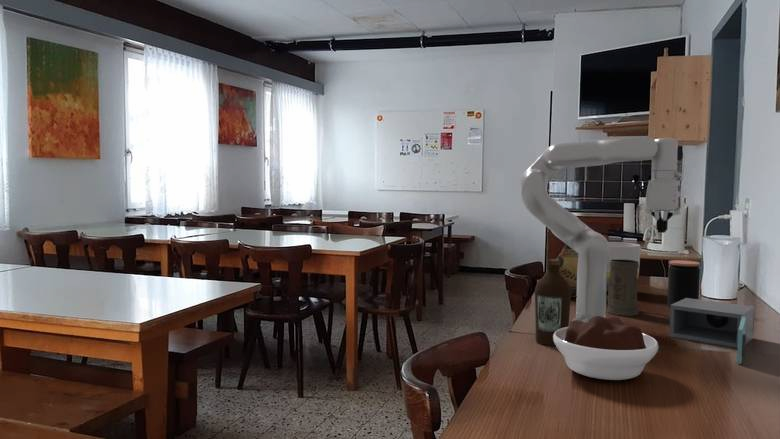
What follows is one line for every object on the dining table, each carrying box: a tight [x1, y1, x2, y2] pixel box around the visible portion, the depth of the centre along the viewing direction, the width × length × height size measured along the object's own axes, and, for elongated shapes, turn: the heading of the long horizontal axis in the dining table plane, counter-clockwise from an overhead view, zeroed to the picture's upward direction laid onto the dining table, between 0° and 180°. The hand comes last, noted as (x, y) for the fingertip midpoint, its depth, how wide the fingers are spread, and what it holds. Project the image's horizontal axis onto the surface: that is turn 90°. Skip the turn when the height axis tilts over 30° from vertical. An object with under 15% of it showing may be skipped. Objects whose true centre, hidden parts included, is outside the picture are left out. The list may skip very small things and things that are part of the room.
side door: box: [736, 316, 747, 365], centre depth 169 cm, size 2×19×9 cm, turn 147°
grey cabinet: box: [668, 298, 755, 349], centre depth 190 cm, size 16×20×10 cm
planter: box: [607, 241, 641, 293], centre depth 264 cm, size 20×20×21 cm
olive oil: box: [534, 258, 572, 346], centre depth 182 cm, size 11×11×25 cm
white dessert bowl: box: [553, 315, 659, 381], centre depth 152 cm, size 25×25×15 cm
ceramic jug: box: [555, 244, 579, 298], centre depth 256 cm, size 17×15×30 cm
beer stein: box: [606, 259, 640, 317], centre depth 225 cm, size 15×11×20 cm
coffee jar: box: [667, 259, 701, 308], centre depth 232 cm, size 11×11×18 cm
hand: (661, 232), depth 199 cm, fingers closed
